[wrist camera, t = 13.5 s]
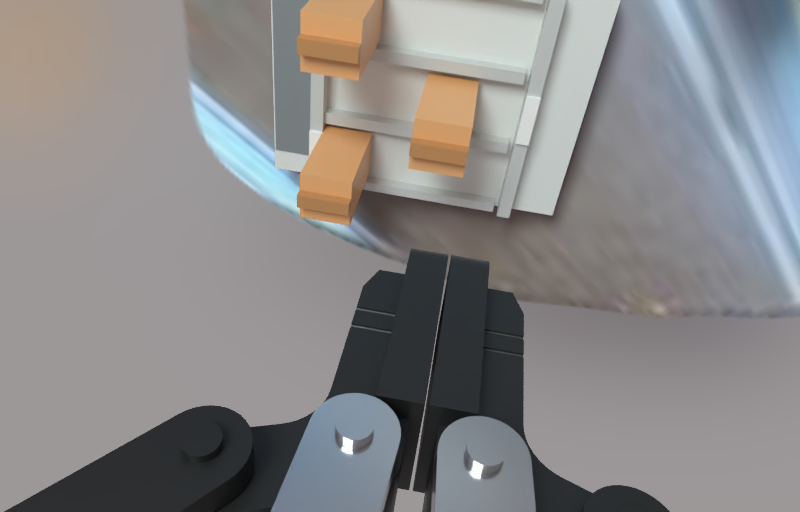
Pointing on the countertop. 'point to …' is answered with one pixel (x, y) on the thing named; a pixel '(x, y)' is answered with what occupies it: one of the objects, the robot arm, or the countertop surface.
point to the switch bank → (462, 58)
